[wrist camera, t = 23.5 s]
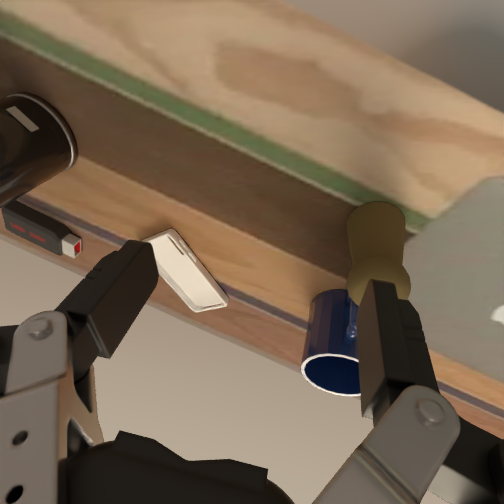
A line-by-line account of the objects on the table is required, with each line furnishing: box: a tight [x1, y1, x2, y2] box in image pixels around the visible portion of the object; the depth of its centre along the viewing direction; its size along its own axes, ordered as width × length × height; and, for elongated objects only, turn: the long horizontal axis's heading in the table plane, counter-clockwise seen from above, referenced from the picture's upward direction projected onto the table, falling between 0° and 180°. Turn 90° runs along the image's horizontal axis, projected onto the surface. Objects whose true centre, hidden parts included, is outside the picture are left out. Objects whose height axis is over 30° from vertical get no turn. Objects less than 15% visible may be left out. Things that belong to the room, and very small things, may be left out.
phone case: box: [141, 229, 229, 312], centre depth 47 cm, size 7×1×15 cm
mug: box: [300, 289, 361, 396], centre depth 39 cm, size 13×9×10 cm
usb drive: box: [2, 200, 81, 258], centre depth 49 cm, size 5×12×3 cm, turn 67°
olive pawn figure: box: [346, 201, 411, 306], centre depth 30 cm, size 6×6×11 cm
